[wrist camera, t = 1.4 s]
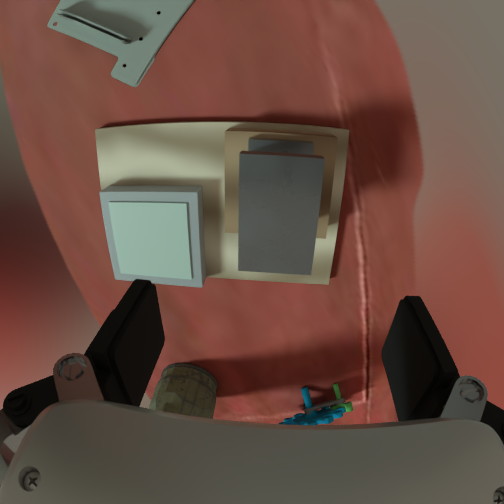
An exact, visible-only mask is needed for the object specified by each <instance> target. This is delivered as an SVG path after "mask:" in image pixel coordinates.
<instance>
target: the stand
mask: <svg viewBox="0 0 504 504" xmlns="http://www.w3.org/2000/svg"><path fill="white" fill-rule="evenodd" d="M249 138H268V139H286V140H300V141H313V143H314V148H313V155H320V156H323V157H324V159H325V161H324V172H323V182H322V191H321V201H320V210H319V218H318V226H317V235H316V238H322V239H326V235H327V228H328V220H329V213H330V205H331V196H332V188H333V179H334V170H335V160H336V149H337V137H336V136H334V135H333V134H328V133H318V132H306V131H293V130H277V129H256V128H228V129H227V130H226V131H225V233H238V220H239V154H240V152H241V151H248V140H249Z"/></svg>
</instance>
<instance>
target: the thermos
mask: <svg viewBox="0 0 504 504" xmlns="http://www.w3.org/2000/svg"><path fill="white" fill-rule="evenodd" d="M217 386H218V384H217V381H216V379H215V378H214V377H213V376H212V375H211V374H210V373H209V372H208V371H206V370H204V369H203V368H200V367H198V366H195V365H192V364H187V363H175V364H171V365H168V366H167V367H166V368H164V370H163V373H162V375H161V380H160V381H158V384H157V386H156V389H155V392H154V394H153V397H152V400H151V403H150V406H149V409H152V410H158V411H164V412H170V413H176V414H182V415H189V416H195V417H203V418H211V419H213V414H214V409H215V403H216V397H215V395H216V392H217Z"/></svg>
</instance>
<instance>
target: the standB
mask: <svg viewBox="0 0 504 504" xmlns="http://www.w3.org/2000/svg"><path fill="white" fill-rule="evenodd" d="M100 199H101V206H102V213H103V219H104V225H105V231H106V236H107V242H108V247H109V252H110V257H111V262H112V267H113V271H114V276H115V279H117V280H127V281H134V280H135V279H144V280H150V281H151V283H157V284H168V285H179V286H190V287H203V284H204V282H205V279H206V264H205V244H204V220H203V190H202V186H177V185H126V186H108V187H106V188H105V189H103V190H102V191H100Z"/></svg>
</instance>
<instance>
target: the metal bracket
mask: <svg viewBox="0 0 504 504" xmlns="http://www.w3.org/2000/svg"><path fill="white" fill-rule="evenodd" d="M193 2H194V0H61V1H60V3H59V4H58V6H57V8H56V10H55V11H54V13H53V15H52V17H51V19H50V21H49V22H48V27H49V28H51V29H54V30H56V31H59V32H62V33H64V34H67V35H69V36H72V37H74V38H76V39H79V40H81V41H84V42H86V43H88V44H91V45H93V46H95V47H98V48H100V49H102V50H104V51H106V52H109V53H111V54H113V55H115V56H117V57H118V61H117V63H116V65H115V66H114V68H113V70H112V72H111V76H112V77H114V78H116V79H118V80H120V81H122V82H124V83H126V84H128V85H130V86H133V87H137V86H138V85H139V83H140V81H141V80H142V78H143V77H144V75H145V73H146V72H147V70H148V69H149V67H150V66H151V64H152V62H153V61H154V59H155V58H154V57H155V55H156V53H157V52H158V50H159V49H160V47H161V46H162V44H163V43H164V41H165V40H166V38H167V37H168V35H169V34H170V33H171V31H172V30H173V28H174V27H175V26H176V24H177V23H178V21H179V20H180V19H181V17H182V16H183V15H184V13H185V12H186V11H187V9H188V8H189V7H190V6H191V4H192V3H193ZM158 11H160V12H161V13H160V14H159V15H158V14H157V12H158ZM55 22H58V24H57V26H54V23H55ZM140 37H142V38H143V40H142V41H140V40H139V38H140ZM123 64H126V67H123Z"/></svg>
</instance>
